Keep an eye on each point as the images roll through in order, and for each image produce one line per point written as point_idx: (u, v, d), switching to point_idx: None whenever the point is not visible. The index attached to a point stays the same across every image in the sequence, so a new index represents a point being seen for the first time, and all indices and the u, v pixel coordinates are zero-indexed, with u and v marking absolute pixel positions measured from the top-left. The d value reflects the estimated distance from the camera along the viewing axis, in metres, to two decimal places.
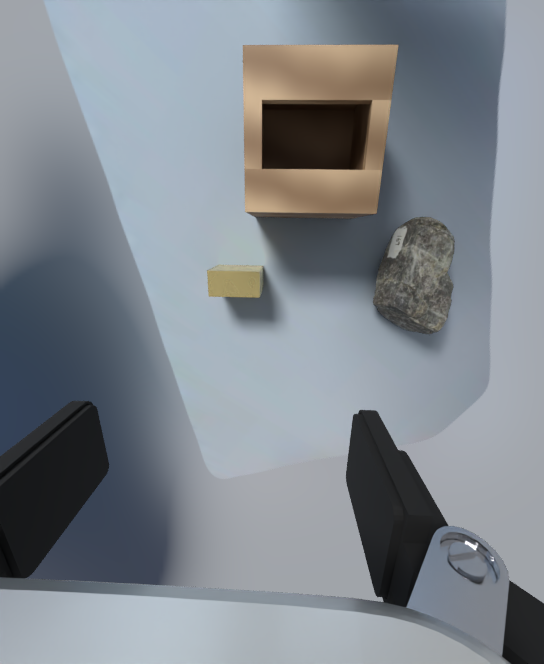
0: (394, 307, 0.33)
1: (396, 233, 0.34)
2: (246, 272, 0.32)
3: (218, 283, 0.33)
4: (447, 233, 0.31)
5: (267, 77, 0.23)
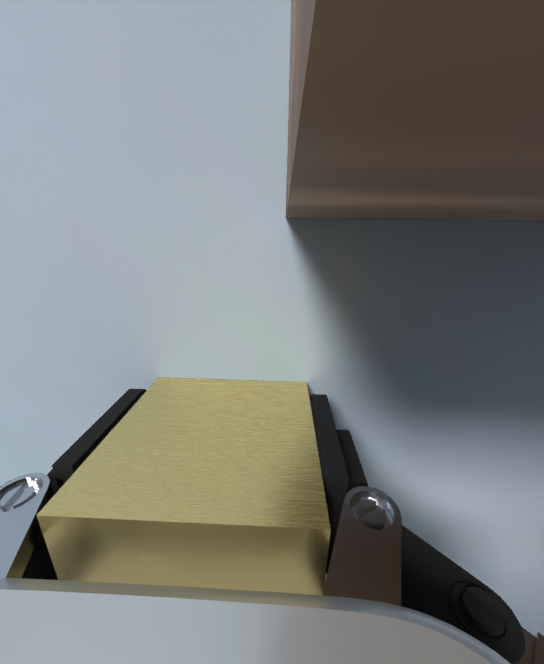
0: None
1: None
2: (254, 530, 0.06)
3: (108, 568, 0.06)
4: None
5: None
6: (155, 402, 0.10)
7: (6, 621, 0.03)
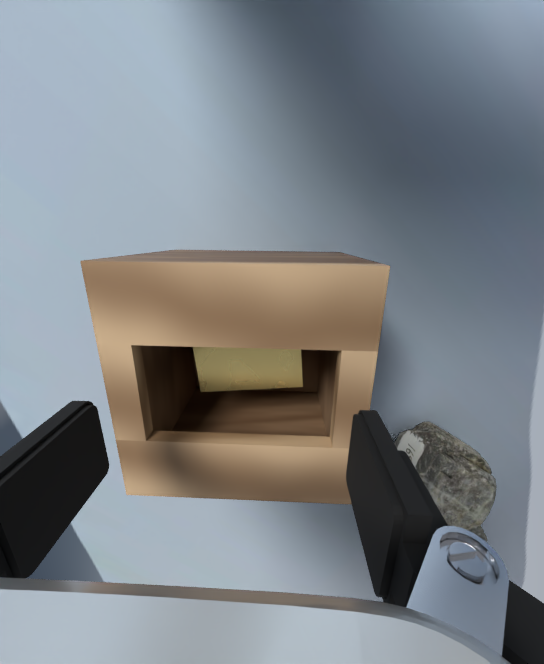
0: None
1: (407, 437, 0.23)
2: None
3: (218, 367, 0.16)
4: (487, 476, 0.20)
5: (136, 312, 0.12)
6: None
7: (6, 621, 0.03)
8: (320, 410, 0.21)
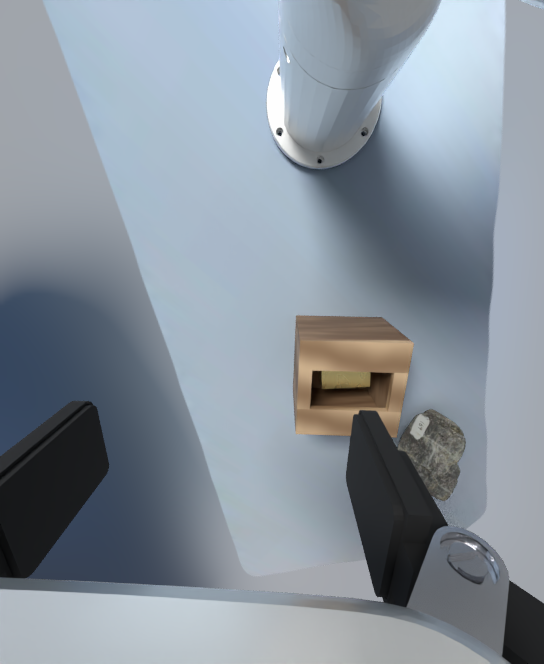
0: None
1: (420, 417, 0.42)
2: None
3: (331, 378, 0.35)
4: (461, 436, 0.39)
5: (317, 358, 0.31)
6: None
7: (6, 621, 0.03)
8: (371, 398, 0.40)
